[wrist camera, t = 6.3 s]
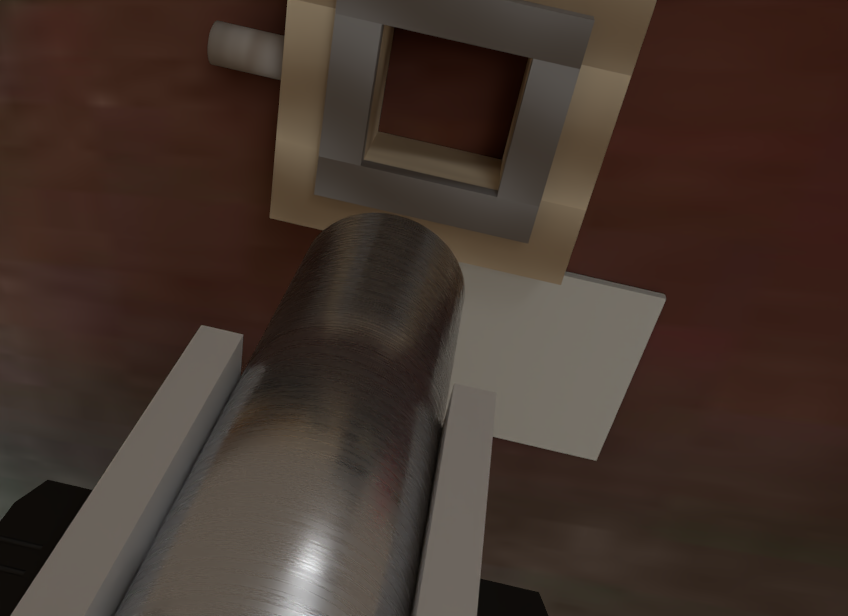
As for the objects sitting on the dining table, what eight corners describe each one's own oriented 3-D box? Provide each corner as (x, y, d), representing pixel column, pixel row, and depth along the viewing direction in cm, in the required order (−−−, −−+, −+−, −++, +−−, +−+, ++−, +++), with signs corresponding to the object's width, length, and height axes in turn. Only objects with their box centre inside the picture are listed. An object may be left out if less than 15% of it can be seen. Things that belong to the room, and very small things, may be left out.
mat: (442, 243, 35) (441, 247, 34) (665, 294, 35) (666, 299, 34) (404, 410, 40) (403, 415, 40) (595, 455, 40) (596, 460, 40)
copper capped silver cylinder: (311, 195, 17) (-193, 1041, 5) (481, 234, 17) (337, 1169, 5) (295, 333, 19) (-94, 1156, 8) (446, 368, 19) (289, 1249, 8)
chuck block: (236, -140, 27) (197, -132, 24) (656, -46, 27) (669, -26, 24) (222, 171, 34) (191, 207, 31) (560, 249, 34) (560, 293, 31)
